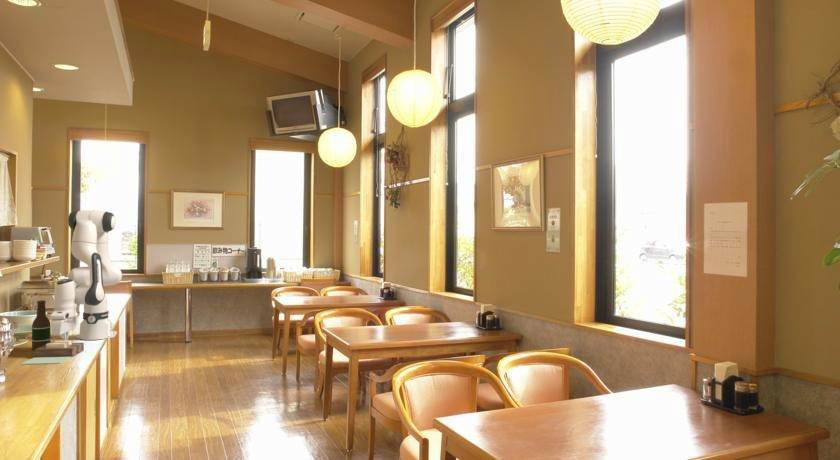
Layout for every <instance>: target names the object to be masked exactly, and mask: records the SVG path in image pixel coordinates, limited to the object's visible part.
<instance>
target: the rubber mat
mask: <svg viewBox="0 0 840 460" xmlns="http://www.w3.org/2000/svg"><path fill="white" fill-rule="evenodd" d="M71 358H72V357H38V358H35V357H32V358H30V359H28V360H26V361H23V362H22V363H21V366H22V365H53V364H54V365H55V364H56V365H57V364H58V365H59V364H62V363H64V362H66V361H68V360H69V359H71Z"/></svg>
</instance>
